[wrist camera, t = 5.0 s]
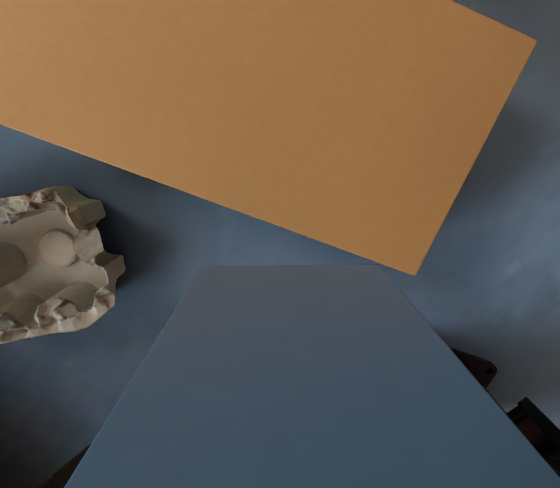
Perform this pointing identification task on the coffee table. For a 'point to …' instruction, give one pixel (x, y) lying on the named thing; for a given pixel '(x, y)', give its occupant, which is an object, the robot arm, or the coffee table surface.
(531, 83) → the coffee table surface
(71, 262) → the egg carton
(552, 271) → the coffee table surface
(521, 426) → the robot arm
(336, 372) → the carton
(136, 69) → the board
